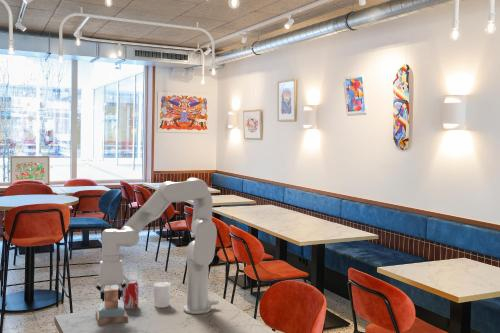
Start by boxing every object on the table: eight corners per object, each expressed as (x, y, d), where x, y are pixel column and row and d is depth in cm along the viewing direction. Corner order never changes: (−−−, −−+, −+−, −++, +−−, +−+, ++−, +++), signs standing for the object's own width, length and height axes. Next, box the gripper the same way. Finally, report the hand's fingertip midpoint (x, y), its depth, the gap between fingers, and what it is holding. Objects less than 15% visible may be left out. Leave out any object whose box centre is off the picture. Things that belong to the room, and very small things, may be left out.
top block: (123, 308, 229) (123, 302, 229) (123, 316, 220) (123, 309, 219) (100, 310, 227) (100, 303, 227) (99, 317, 217) (99, 310, 217)
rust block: (116, 303, 226) (116, 288, 226) (118, 307, 222) (117, 291, 221) (104, 305, 224) (104, 289, 224) (105, 308, 220) (105, 292, 219)
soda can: (134, 310, 234) (134, 283, 233) (119, 309, 235) (120, 282, 235) (140, 305, 241) (141, 279, 240) (126, 304, 242) (126, 278, 242)
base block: (124, 314, 231) (124, 307, 231) (127, 323, 220) (127, 316, 220) (95, 317, 227) (95, 310, 227) (98, 326, 216) (98, 319, 215)
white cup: (174, 304, 243) (174, 283, 242) (162, 309, 236) (162, 287, 235) (161, 301, 247) (161, 281, 246) (149, 306, 240) (149, 284, 240)
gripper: (130, 255, 229) (130, 295, 230) (89, 257, 222) (89, 299, 223) (133, 258, 222) (132, 300, 223) (90, 261, 215) (90, 304, 216)
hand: (111, 299), depth 223 cm, fingers open, 6 cm apart
